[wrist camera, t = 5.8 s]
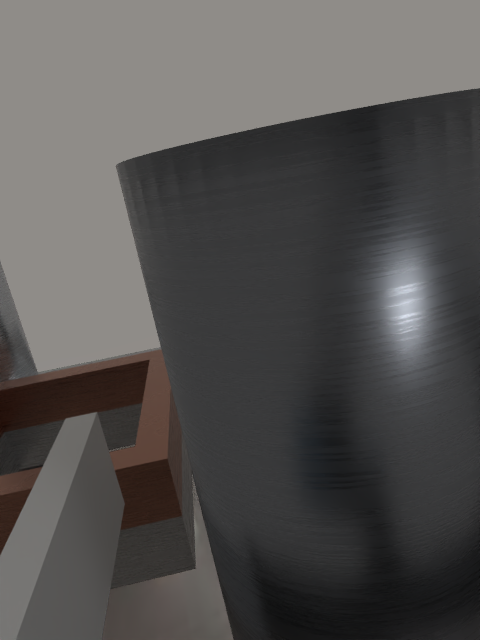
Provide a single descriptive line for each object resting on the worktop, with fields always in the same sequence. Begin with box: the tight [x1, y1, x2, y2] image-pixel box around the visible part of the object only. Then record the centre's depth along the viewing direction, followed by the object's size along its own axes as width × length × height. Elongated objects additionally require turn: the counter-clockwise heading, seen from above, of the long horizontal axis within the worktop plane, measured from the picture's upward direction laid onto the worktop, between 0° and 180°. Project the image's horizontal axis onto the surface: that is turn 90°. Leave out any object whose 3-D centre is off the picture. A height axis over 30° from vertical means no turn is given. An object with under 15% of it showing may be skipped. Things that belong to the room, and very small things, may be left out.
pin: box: [116, 88, 480, 640], centre depth 8 cm, size 4×4×16 cm
